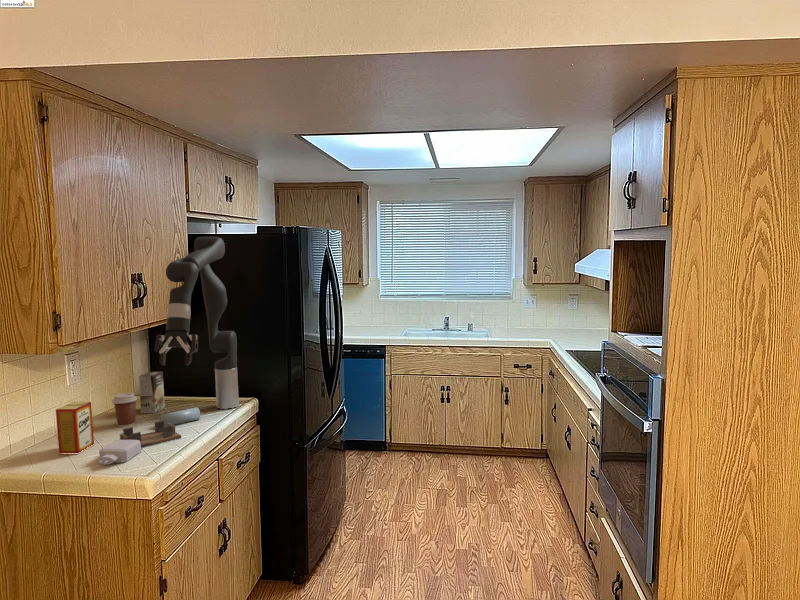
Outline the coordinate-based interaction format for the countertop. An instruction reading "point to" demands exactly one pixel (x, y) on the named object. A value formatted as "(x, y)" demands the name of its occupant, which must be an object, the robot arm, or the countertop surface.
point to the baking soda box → (74, 427)
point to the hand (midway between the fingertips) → (174, 365)
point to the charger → (119, 451)
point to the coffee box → (151, 392)
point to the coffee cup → (125, 408)
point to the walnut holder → (152, 434)
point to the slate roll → (181, 416)
